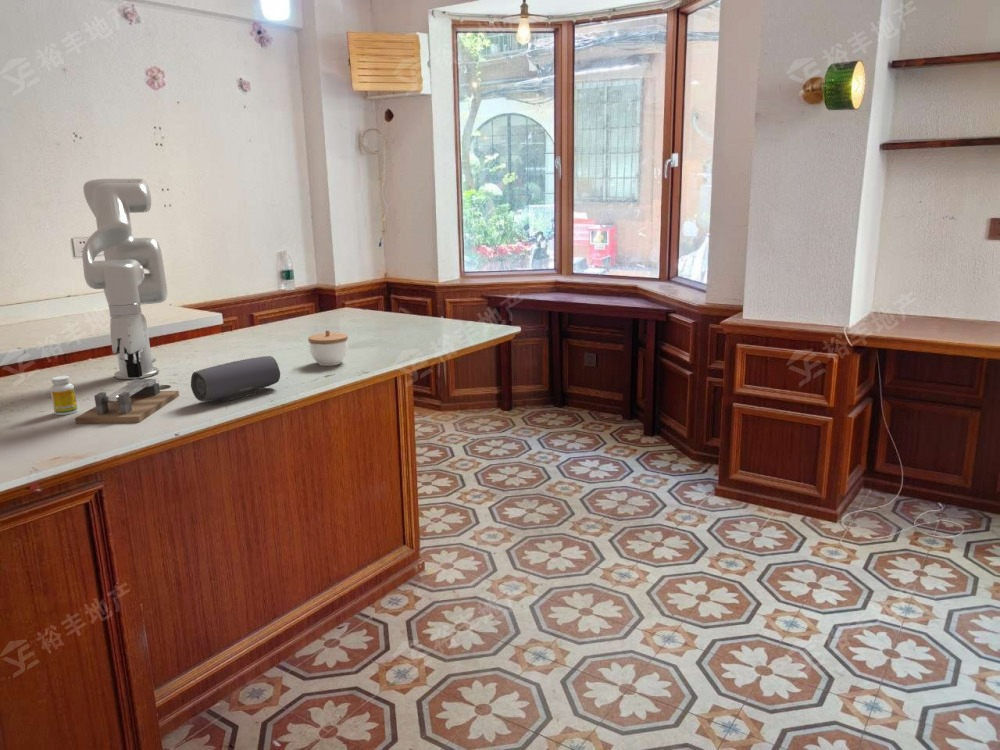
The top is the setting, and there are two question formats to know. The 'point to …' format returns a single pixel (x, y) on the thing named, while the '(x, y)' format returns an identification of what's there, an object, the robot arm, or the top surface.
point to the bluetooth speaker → (235, 379)
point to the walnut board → (125, 408)
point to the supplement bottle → (63, 396)
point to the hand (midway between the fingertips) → (135, 376)
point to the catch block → (148, 391)
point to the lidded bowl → (328, 348)
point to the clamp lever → (129, 389)
